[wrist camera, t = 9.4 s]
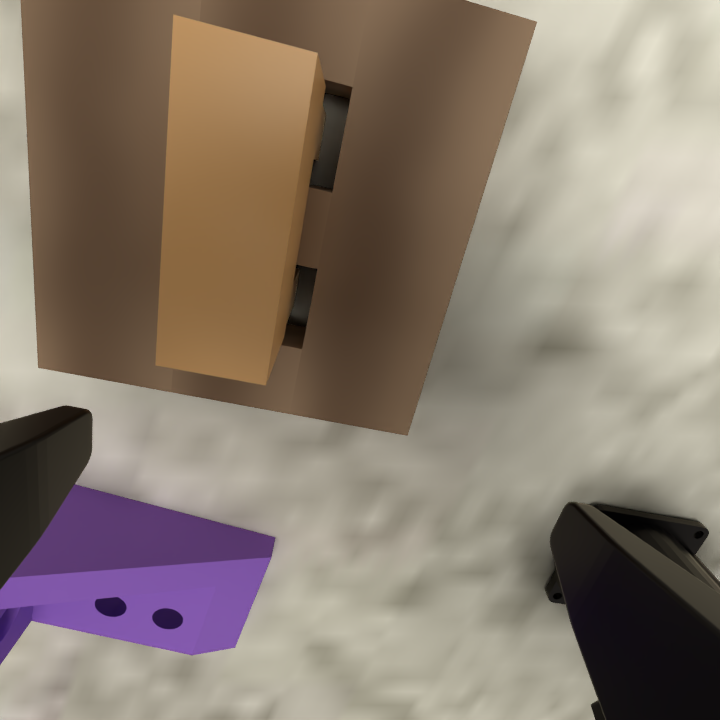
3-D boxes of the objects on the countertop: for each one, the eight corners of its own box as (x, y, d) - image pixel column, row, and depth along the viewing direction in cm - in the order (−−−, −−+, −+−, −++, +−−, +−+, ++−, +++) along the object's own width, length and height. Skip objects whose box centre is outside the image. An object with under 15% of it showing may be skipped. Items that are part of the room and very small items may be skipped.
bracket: (19, 570, 24) (-99, 714, 17) (32, 469, 21) (-99, 593, 15) (241, 621, 26) (206, 767, 19) (275, 533, 23) (249, 668, 17)
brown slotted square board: (507, 44, 15) (536, 22, 13) (400, 405, 20) (407, 435, 18) (70, -83, 13) (14, -135, 11) (76, 343, 19) (37, 367, 16)
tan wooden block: (329, 98, 16) (318, 53, 10) (292, 316, 18) (265, 385, 12) (241, 76, 15) (173, 14, 9) (218, 301, 18) (155, 365, 12)
